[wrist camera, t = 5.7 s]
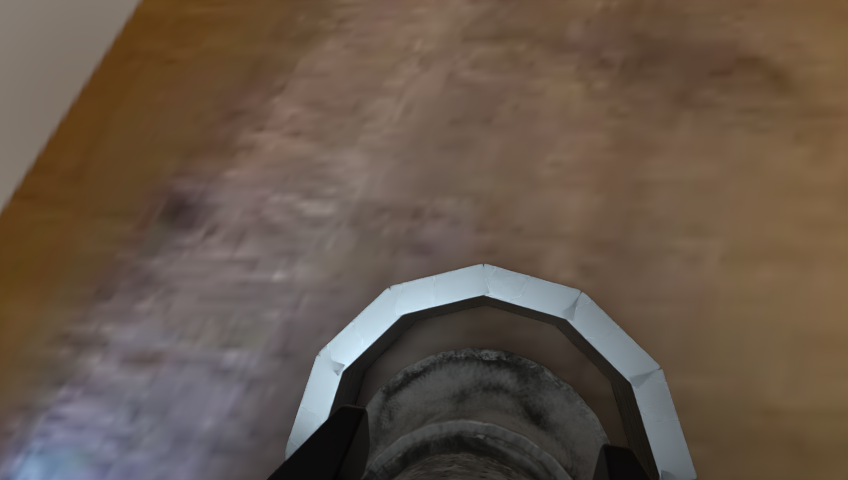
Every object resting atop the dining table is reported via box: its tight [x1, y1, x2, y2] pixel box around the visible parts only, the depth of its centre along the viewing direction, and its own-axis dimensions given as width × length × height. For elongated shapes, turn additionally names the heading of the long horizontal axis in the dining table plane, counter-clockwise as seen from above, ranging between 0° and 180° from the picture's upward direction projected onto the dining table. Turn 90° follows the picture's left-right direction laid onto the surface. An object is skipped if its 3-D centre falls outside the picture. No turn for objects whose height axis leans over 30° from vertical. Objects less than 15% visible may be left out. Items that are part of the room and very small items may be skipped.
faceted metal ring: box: [285, 264, 697, 480], centre depth 14 cm, size 10×10×2 cm
